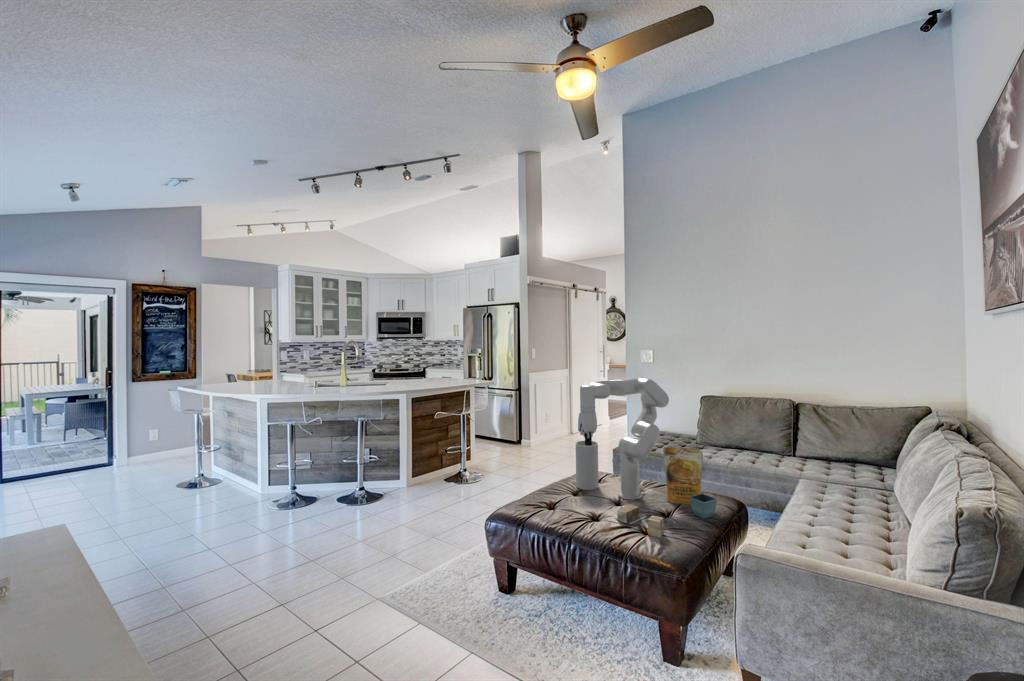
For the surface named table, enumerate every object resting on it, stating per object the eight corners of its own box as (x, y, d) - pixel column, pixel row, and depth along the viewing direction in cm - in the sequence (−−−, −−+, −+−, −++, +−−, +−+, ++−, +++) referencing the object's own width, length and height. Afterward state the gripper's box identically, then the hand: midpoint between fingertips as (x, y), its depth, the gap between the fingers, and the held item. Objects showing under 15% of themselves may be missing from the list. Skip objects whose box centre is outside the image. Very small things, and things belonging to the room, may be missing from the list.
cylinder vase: (580, 491, 268) (579, 446, 267) (573, 484, 280) (572, 441, 279) (601, 489, 270) (601, 445, 269) (593, 482, 282) (593, 439, 281)
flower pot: (704, 521, 225) (704, 502, 224) (689, 515, 233) (689, 496, 232) (717, 517, 229) (717, 499, 228) (702, 511, 237) (702, 493, 236)
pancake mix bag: (664, 498, 255) (663, 445, 254) (702, 502, 248) (702, 448, 247) (663, 502, 249) (662, 448, 248) (703, 506, 242) (702, 451, 241)
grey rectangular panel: (631, 511, 238) (631, 511, 238) (646, 517, 231) (646, 516, 231) (614, 518, 230) (614, 518, 230) (630, 524, 223) (630, 524, 223)
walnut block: (617, 519, 228) (630, 514, 234) (626, 523, 224) (639, 517, 231) (617, 509, 228) (630, 503, 234) (626, 512, 224) (639, 506, 230)
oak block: (652, 530, 216) (652, 515, 216) (663, 533, 213) (663, 517, 213) (648, 535, 212) (648, 519, 212) (659, 537, 209) (659, 521, 209)
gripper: (591, 406, 253) (592, 441, 254) (572, 410, 244) (572, 446, 244) (603, 408, 248) (603, 443, 248) (583, 412, 238) (584, 449, 239)
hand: (588, 445), depth 246 cm, fingers closed
